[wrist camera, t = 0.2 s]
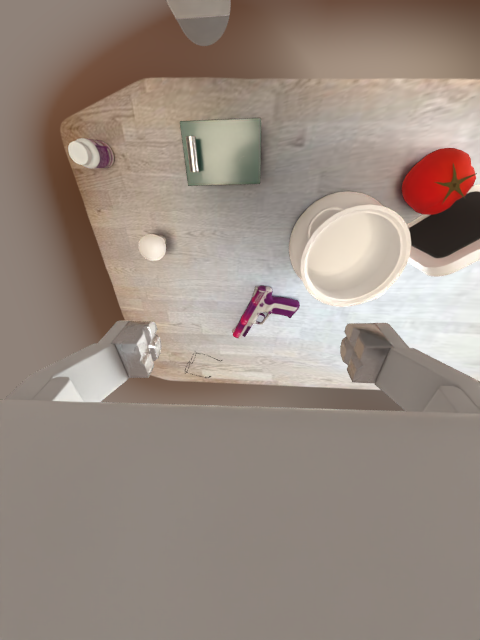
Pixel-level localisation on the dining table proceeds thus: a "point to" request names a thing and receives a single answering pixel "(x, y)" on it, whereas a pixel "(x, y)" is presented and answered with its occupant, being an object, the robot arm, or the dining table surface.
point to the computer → (447, 237)
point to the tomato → (438, 181)
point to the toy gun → (264, 309)
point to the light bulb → (152, 246)
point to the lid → (222, 151)
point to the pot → (349, 248)
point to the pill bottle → (91, 153)
